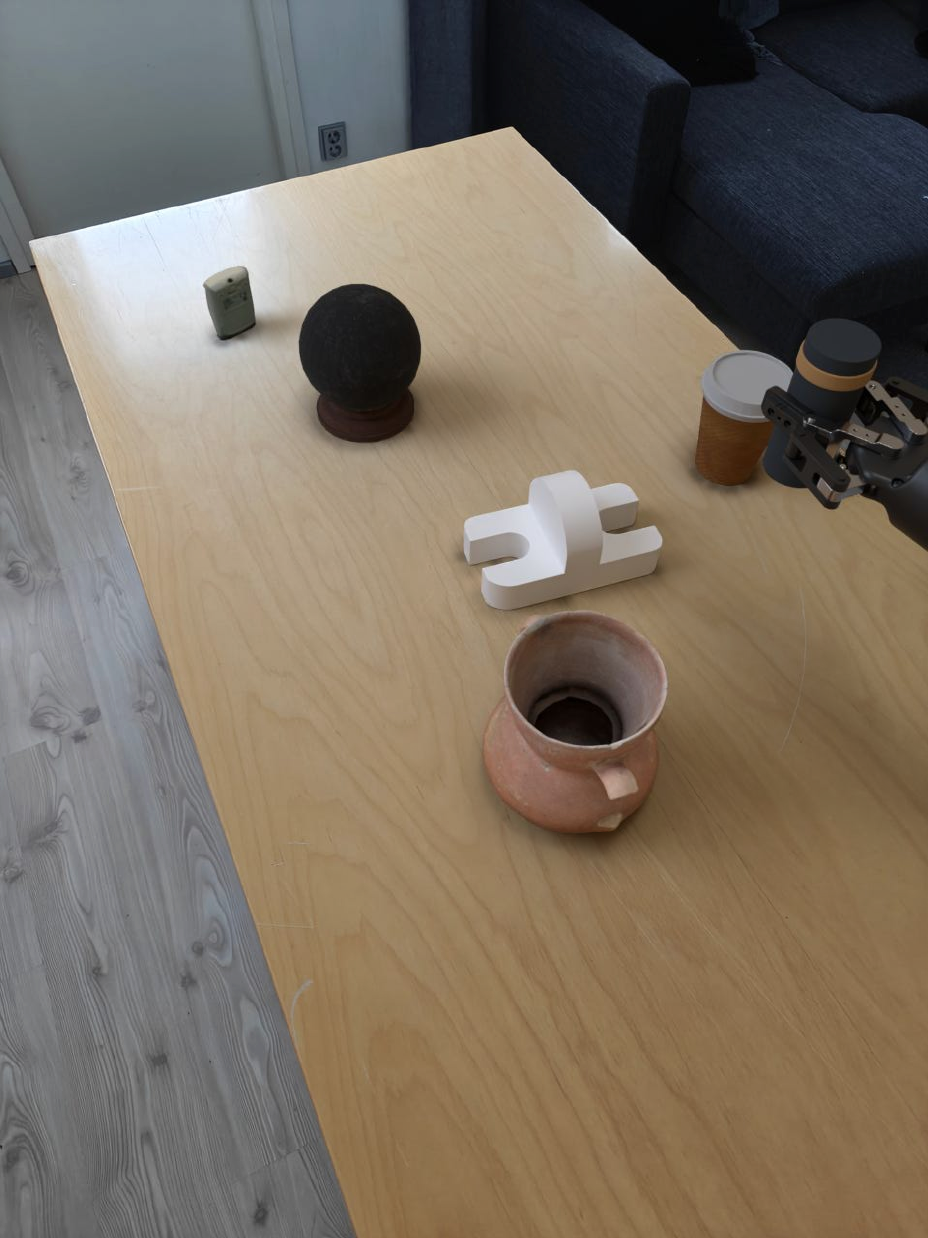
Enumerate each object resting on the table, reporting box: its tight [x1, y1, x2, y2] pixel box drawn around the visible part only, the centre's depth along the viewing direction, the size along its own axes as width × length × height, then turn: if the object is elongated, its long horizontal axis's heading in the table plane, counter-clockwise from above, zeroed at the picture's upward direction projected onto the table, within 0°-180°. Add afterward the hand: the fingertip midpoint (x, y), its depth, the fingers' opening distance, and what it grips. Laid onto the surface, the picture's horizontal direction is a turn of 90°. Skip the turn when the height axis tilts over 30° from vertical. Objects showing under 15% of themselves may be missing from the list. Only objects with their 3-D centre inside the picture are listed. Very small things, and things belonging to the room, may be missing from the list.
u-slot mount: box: [463, 469, 663, 611], centre depth 89 cm, size 18×10×10 cm, turn 109°
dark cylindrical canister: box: [761, 318, 882, 489], centre depth 69 cm, size 5×5×12 cm
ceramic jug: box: [482, 609, 669, 834], centre depth 74 cm, size 18×14×14 cm
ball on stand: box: [298, 283, 422, 443], centre depth 101 cm, size 13×13×15 cm
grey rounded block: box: [202, 265, 257, 341], centre depth 112 cm, size 6×5×8 cm
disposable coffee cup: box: [694, 349, 794, 486], centre depth 97 cm, size 10×10×12 cm
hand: (793, 383), depth 70 cm, fingers closed on dark cylindrical canister, 5 cm apart
